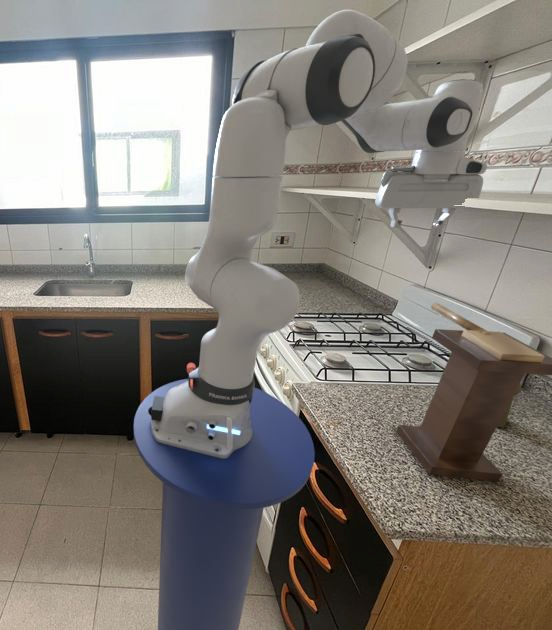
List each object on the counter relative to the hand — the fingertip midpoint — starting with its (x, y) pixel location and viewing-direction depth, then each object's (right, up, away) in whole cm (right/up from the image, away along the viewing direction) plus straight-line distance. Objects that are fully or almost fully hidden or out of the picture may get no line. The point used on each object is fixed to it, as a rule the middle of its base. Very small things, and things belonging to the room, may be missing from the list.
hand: (416, 227), depth 84 cm
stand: (-4, -51, -12) cm, 52 cm away
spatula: (-4, -25, -17) cm, 30 cm away
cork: (+16, -46, -2) cm, 49 cm away
